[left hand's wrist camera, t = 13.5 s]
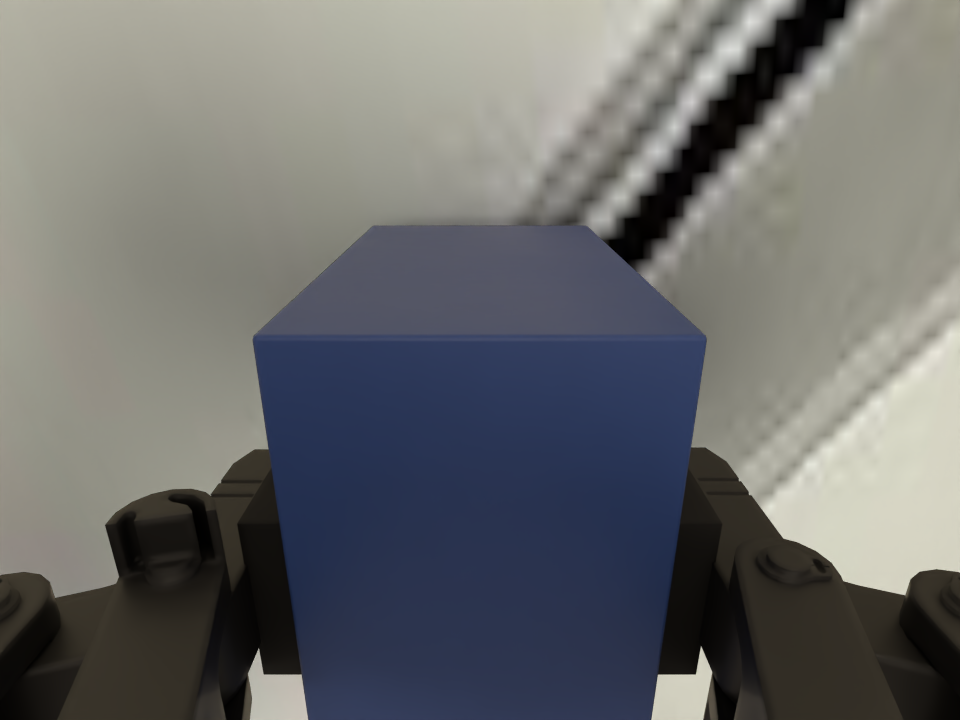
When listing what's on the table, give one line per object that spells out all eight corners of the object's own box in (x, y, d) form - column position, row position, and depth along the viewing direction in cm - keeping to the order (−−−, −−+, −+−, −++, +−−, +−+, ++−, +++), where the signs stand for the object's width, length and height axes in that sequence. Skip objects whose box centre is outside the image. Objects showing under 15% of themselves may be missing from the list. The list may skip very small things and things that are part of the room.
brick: (567, 529, 17) (635, 837, 10) (391, 529, 17) (323, 838, 10) (588, 225, 14) (709, 335, 6) (371, 225, 14) (249, 335, 6)
